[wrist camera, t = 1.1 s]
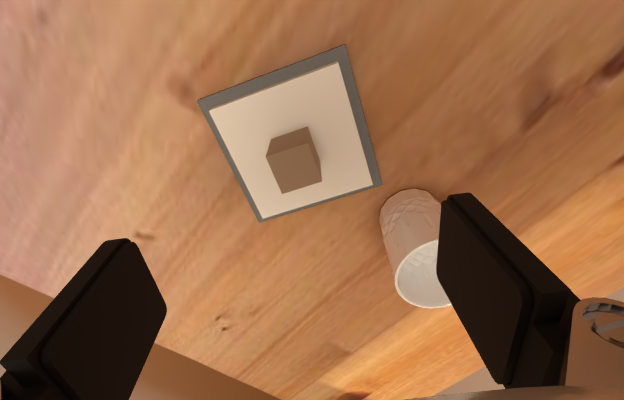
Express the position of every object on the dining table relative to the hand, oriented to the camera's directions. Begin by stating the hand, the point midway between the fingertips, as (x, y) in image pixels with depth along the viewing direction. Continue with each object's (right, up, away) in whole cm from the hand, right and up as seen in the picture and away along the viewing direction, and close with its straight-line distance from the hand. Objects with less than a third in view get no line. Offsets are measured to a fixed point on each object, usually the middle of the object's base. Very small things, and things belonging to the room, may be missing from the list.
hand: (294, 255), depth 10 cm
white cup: (+11, 0, +26) cm, 29 cm away
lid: (-1, +7, +21) cm, 23 cm away
